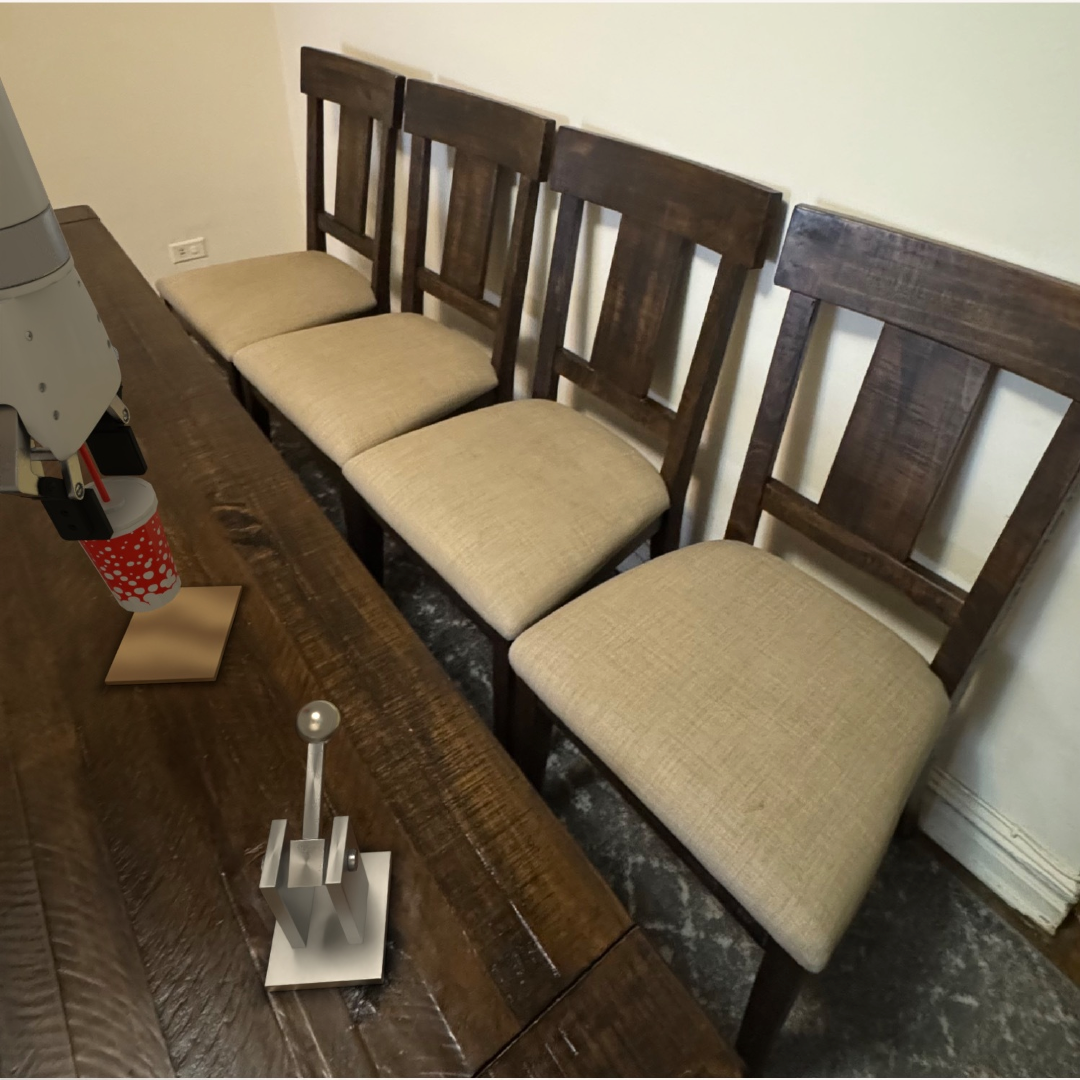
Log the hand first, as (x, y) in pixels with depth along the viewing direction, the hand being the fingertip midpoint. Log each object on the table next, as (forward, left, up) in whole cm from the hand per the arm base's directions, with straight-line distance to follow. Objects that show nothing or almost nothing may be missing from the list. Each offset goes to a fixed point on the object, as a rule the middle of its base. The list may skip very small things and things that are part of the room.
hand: (107, 502), depth 52 cm
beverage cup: (0, 0, -9) cm, 9 cm away
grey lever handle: (-15, -14, -14) cm, 25 cm away
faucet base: (-20, -14, -25) cm, 35 cm away
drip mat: (+9, +5, -25) cm, 27 cm away
